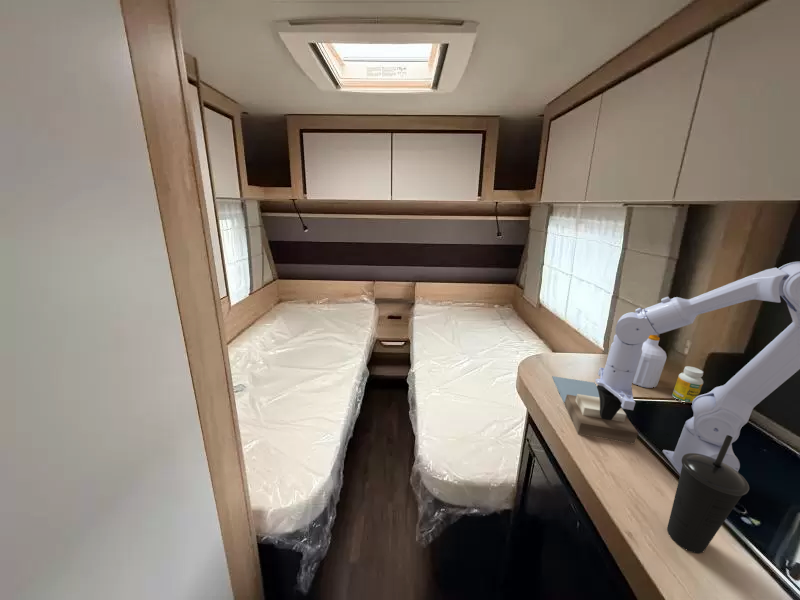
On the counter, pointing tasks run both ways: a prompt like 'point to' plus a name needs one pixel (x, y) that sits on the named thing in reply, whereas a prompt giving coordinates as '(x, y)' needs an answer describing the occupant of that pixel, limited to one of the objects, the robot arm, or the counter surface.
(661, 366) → the soap bottle
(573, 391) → the mat
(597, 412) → the tile
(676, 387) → the supplement bottle
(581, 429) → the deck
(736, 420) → the robot arm
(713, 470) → the drinking cup
